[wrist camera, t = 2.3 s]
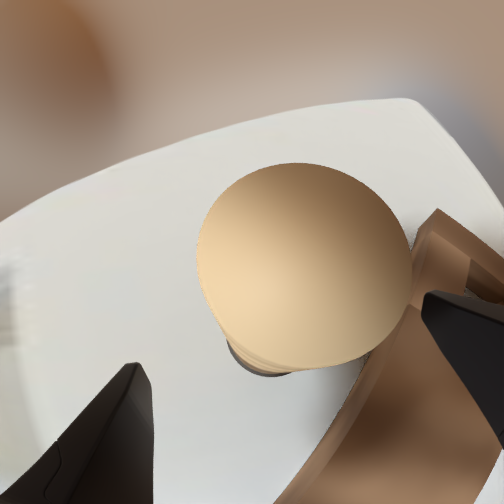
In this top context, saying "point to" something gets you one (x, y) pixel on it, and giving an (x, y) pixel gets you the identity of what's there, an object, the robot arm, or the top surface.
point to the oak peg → (302, 268)
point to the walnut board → (412, 398)
